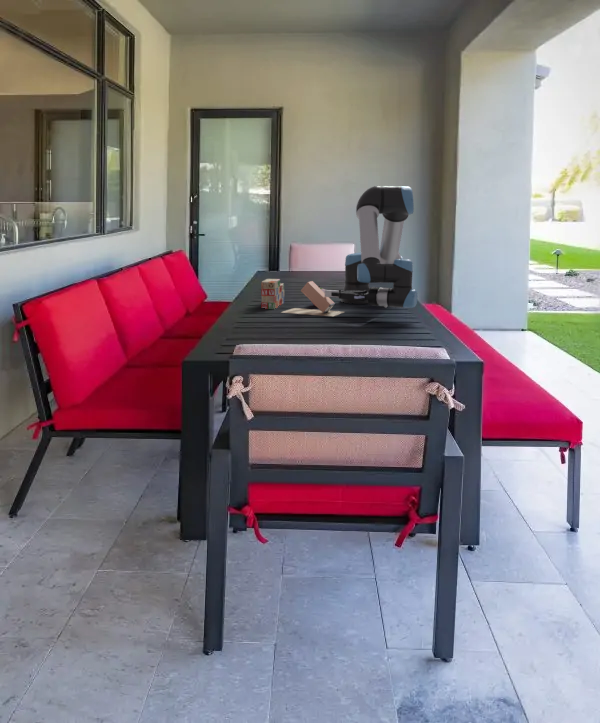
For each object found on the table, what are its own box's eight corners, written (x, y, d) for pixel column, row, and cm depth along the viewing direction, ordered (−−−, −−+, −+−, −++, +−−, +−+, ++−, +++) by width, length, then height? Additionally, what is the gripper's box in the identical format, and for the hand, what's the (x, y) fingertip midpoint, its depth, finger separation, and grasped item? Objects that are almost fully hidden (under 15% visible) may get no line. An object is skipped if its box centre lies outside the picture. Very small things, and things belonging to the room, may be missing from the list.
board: (345, 314, 327) (345, 311, 327) (333, 318, 315) (333, 316, 314) (294, 310, 336) (294, 308, 336) (280, 314, 324) (280, 312, 324)
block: (335, 303, 324) (312, 280, 326) (331, 305, 319) (307, 282, 322) (328, 311, 326) (305, 289, 328) (323, 313, 322) (300, 290, 324)
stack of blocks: (271, 302, 361) (271, 276, 358) (284, 303, 360) (284, 276, 357) (261, 309, 340) (261, 281, 338) (274, 309, 339) (274, 281, 337)
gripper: (374, 307, 308) (319, 304, 317) (383, 303, 319) (330, 300, 328) (374, 289, 306) (319, 286, 315) (384, 285, 318) (330, 282, 327)
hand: (325, 293), depth 322 cm, fingers closed
